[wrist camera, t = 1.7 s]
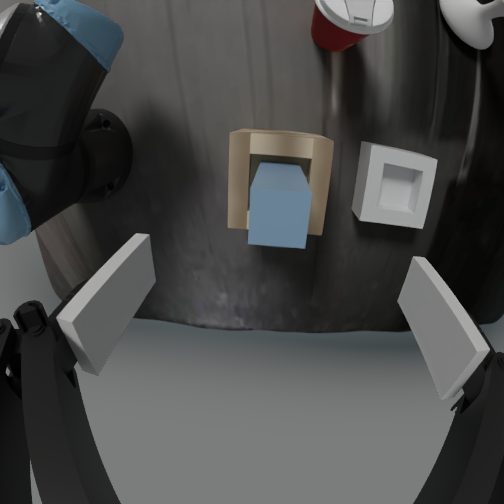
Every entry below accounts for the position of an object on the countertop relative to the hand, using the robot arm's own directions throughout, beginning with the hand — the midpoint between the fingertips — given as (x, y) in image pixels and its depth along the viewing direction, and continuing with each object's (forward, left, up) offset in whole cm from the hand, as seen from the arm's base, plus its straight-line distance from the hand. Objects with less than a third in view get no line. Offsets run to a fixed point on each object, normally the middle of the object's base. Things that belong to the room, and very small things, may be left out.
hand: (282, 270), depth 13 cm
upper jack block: (0, 0, -26) cm, 26 cm away
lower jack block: (+16, 0, -26) cm, 31 cm away
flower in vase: (+29, +32, -27) cm, 51 cm away
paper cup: (+6, +20, -27) cm, 34 cm away
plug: (0, 0, -18) cm, 18 cm away
